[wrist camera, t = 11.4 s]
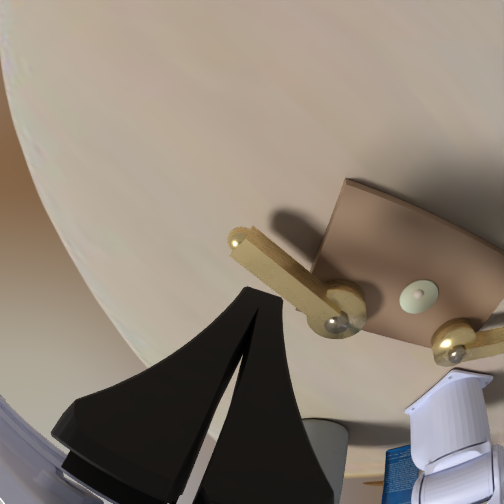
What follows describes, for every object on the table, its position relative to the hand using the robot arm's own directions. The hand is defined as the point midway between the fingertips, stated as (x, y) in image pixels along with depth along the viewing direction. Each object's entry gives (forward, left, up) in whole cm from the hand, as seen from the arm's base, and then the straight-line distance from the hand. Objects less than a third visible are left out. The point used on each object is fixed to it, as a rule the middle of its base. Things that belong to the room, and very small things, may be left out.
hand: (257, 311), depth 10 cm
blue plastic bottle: (-36, -35, -10) cm, 51 cm away
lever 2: (-4, -19, -8) cm, 21 cm away
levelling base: (-2, -10, -9) cm, 14 cm away
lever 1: (-4, -2, -8) cm, 9 cm away
